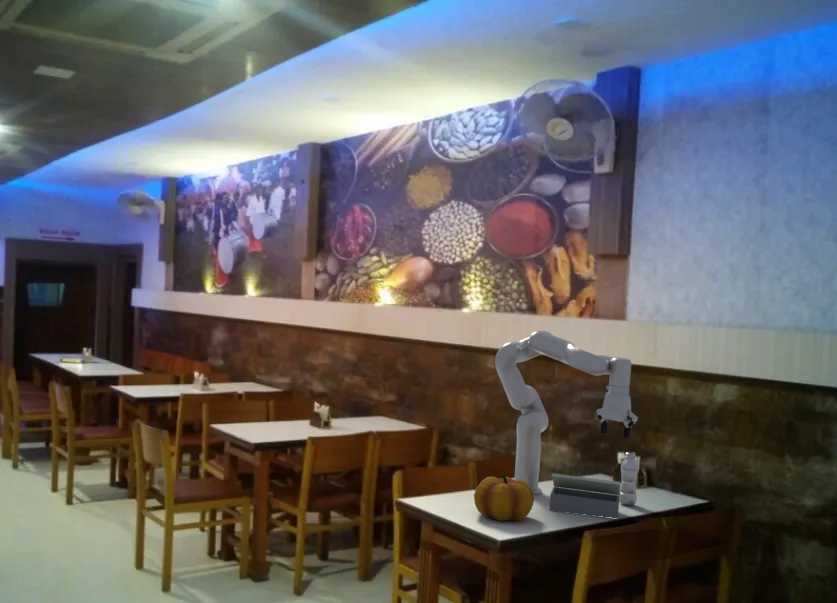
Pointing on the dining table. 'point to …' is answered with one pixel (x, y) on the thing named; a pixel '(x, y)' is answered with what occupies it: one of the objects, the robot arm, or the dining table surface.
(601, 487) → the cover
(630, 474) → the plastic bottle
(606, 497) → the grey rectangular box
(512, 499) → the decorative pumpkin
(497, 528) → the dining table surface
